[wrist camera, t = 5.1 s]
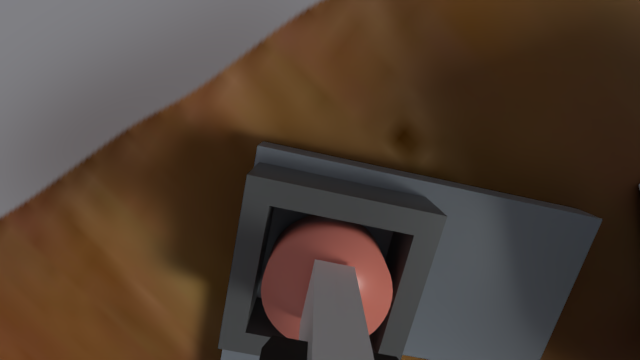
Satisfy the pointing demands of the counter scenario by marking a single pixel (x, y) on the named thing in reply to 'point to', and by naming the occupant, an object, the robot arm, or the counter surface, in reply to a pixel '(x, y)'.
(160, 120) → the counter surface
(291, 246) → the button
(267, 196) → the pallet plate
